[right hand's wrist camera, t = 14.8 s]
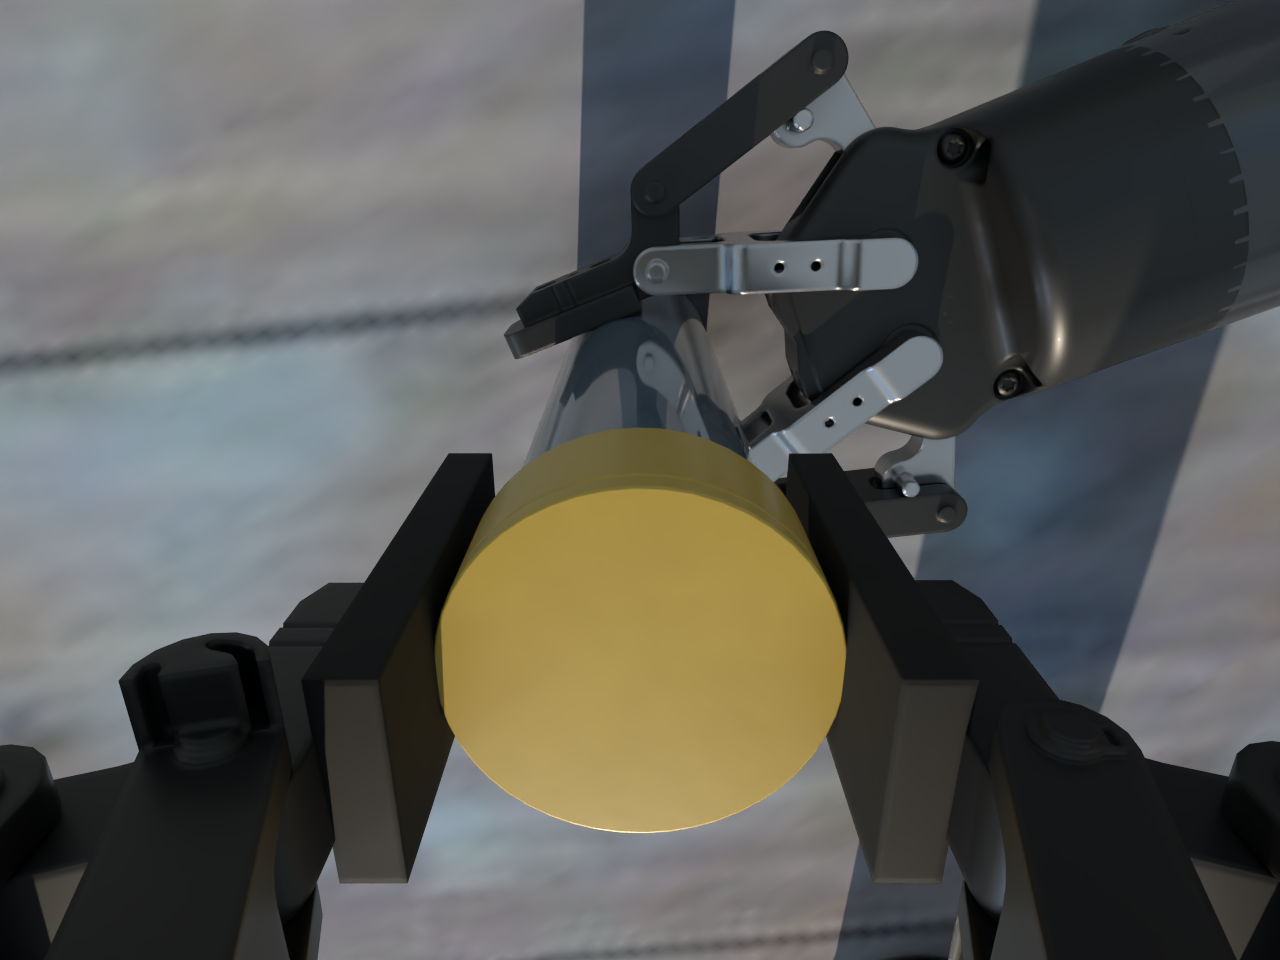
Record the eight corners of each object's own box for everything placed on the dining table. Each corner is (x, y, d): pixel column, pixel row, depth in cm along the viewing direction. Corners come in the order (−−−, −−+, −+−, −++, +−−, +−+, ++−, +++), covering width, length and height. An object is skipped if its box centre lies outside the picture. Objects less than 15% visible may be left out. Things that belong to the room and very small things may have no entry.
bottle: (726, 307, 28) (875, 562, 10) (675, 425, 29) (727, 820, 12) (602, 256, 27) (532, 434, 10) (556, 379, 29) (425, 726, 11)
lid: (597, 352, 11) (587, 397, 9) (885, 555, 12) (936, 637, 10) (403, 622, 12) (356, 714, 10) (674, 778, 13) (680, 889, 11)
